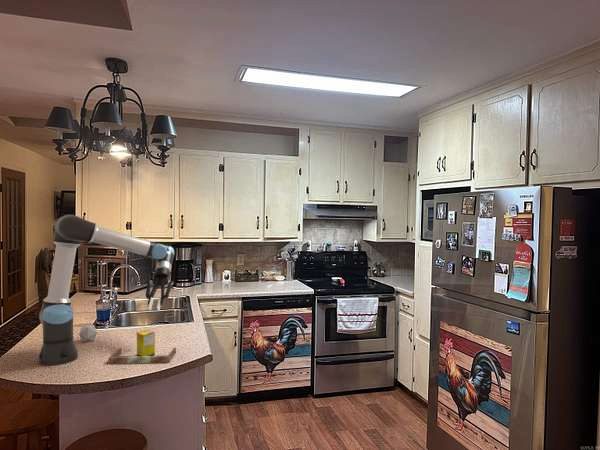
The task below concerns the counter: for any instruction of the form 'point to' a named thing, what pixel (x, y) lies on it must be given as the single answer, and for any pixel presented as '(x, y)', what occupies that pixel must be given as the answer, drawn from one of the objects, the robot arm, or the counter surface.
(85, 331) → the die
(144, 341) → the supplement box
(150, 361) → the frame
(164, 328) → the counter surface
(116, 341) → the counter surface
